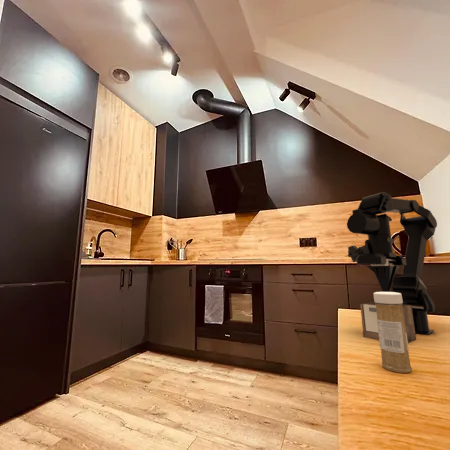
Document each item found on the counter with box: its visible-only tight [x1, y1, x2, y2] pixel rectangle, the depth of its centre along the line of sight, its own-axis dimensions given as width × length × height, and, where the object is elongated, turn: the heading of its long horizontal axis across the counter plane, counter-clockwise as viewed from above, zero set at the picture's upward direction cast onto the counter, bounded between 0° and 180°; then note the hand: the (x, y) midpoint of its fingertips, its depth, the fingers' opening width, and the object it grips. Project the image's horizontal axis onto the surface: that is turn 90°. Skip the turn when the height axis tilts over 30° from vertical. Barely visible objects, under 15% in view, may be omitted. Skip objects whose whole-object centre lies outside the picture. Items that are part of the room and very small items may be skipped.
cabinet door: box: [362, 303, 379, 333], centre depth 65 cm, size 1×8×7 cm, turn 37°
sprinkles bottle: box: [373, 291, 413, 374], centre depth 46 cm, size 5×5×13 cm
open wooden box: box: [359, 301, 417, 344], centre depth 66 cm, size 8×10×8 cm
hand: (385, 291), depth 69 cm, fingers closed
